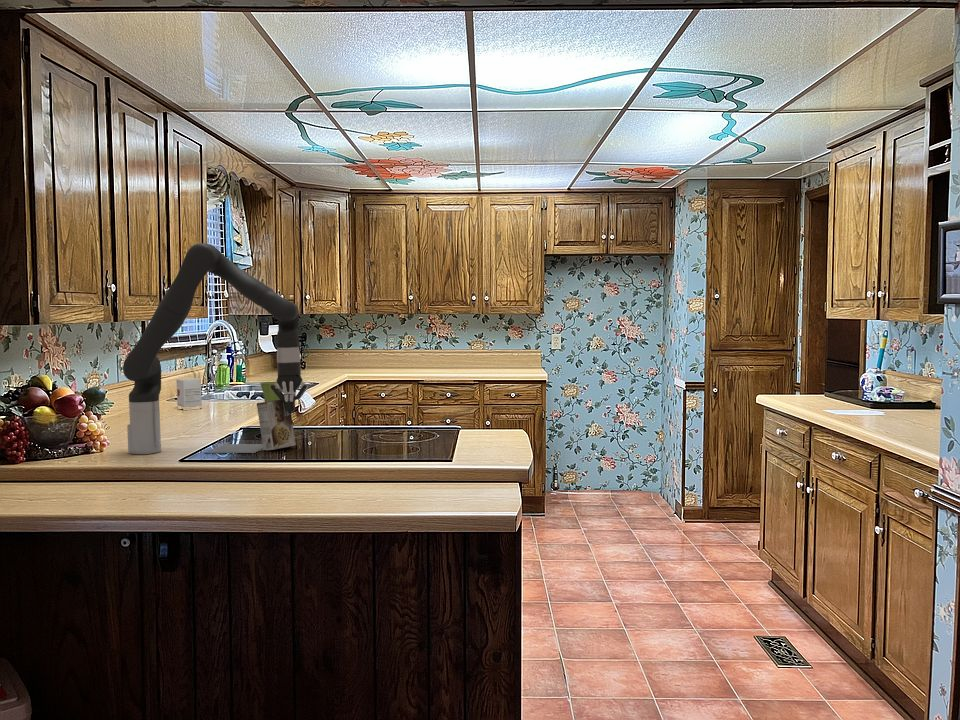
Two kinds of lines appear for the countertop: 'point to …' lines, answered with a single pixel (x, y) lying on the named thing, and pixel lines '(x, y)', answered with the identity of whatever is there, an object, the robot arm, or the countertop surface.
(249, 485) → the countertop surface
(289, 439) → the coffee box
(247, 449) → the mat
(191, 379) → the supplement box
